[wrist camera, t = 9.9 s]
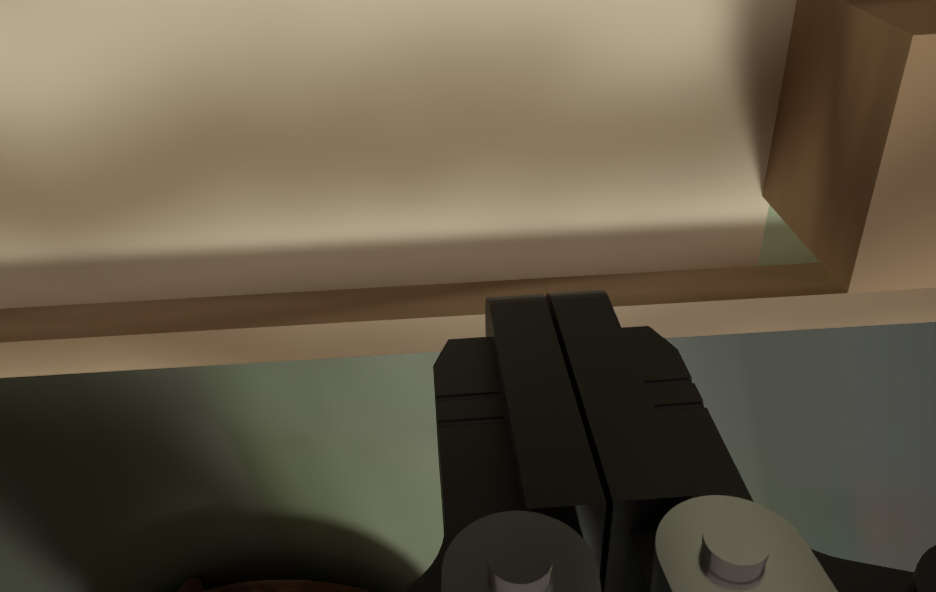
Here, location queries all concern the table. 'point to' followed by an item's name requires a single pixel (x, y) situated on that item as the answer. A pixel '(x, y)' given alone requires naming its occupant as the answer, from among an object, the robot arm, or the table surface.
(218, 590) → the brown lantern
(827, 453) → the table surface
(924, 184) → the light brown block
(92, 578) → the table surface
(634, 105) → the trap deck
